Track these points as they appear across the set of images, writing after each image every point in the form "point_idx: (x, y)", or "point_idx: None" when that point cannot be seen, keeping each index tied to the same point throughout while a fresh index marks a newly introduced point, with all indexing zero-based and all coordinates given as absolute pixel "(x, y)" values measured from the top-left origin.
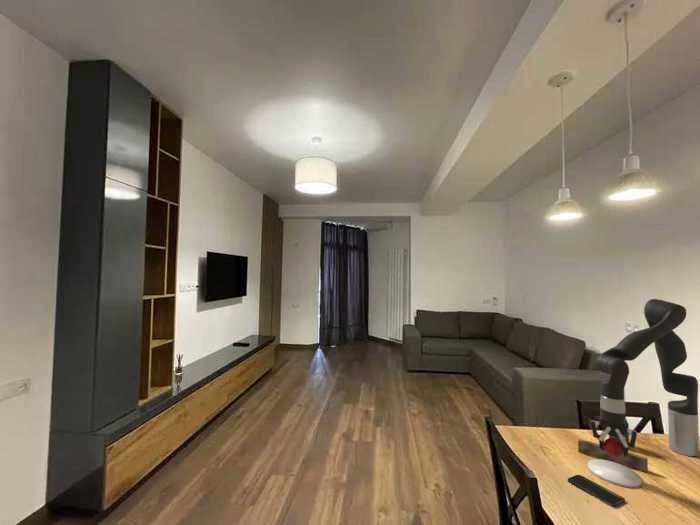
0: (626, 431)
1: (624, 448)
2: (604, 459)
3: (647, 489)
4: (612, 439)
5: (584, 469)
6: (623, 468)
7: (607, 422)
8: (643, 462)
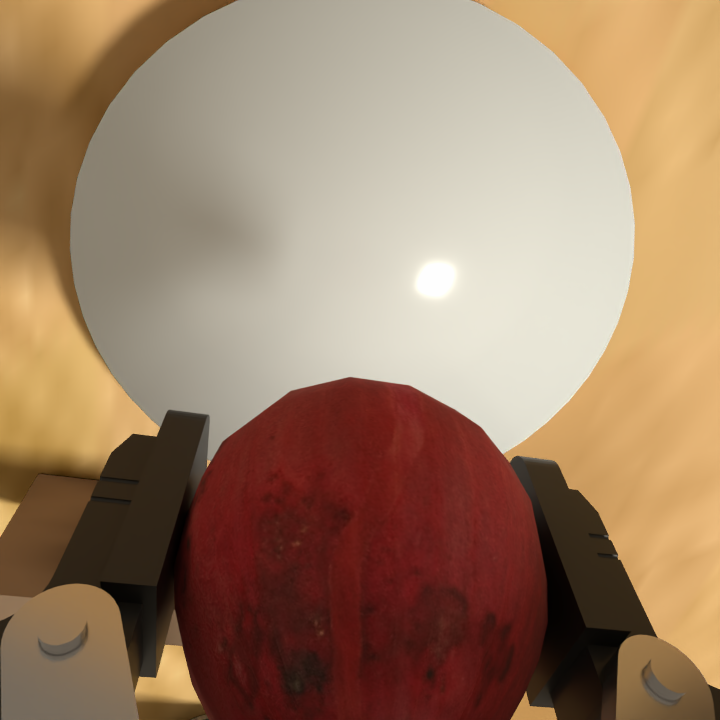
0: None
1: (137, 555)
2: None
3: (20, 92)
4: None
5: (678, 215)
6: (240, 414)
7: None
8: (31, 553)
